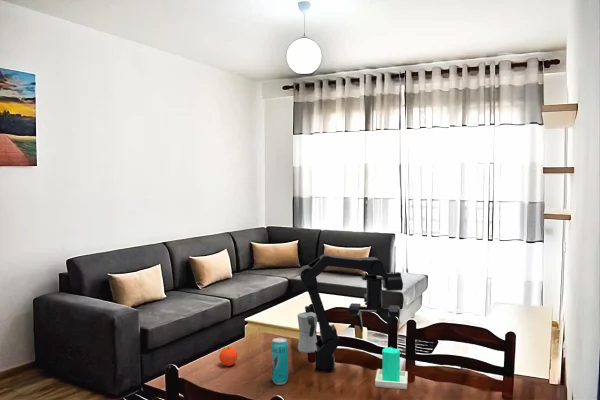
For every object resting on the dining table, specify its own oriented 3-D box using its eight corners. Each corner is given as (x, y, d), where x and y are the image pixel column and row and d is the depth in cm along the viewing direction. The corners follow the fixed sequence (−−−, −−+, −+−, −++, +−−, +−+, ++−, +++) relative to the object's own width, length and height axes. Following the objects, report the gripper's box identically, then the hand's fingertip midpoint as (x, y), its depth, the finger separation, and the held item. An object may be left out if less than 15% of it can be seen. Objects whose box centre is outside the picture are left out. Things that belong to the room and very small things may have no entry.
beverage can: (268, 381, 170) (268, 339, 170) (282, 377, 174) (281, 336, 173) (278, 387, 166) (277, 343, 165) (291, 382, 169) (291, 340, 169)
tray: (375, 386, 165) (375, 380, 165) (377, 374, 176) (377, 368, 176) (407, 389, 163) (407, 383, 163) (407, 376, 173) (407, 371, 173)
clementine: (213, 366, 184) (213, 348, 184) (223, 360, 191) (222, 342, 190) (231, 369, 181) (231, 350, 181) (241, 363, 188) (240, 345, 187)
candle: (396, 384, 165) (396, 350, 165) (379, 381, 168) (379, 347, 168) (402, 378, 170) (402, 344, 170) (386, 375, 174) (386, 342, 173)
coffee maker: (294, 345, 207) (293, 303, 207) (314, 343, 210) (313, 302, 209) (302, 357, 193) (302, 312, 192) (323, 355, 195) (323, 311, 194)
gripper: (400, 287, 188) (400, 327, 188) (352, 285, 192) (352, 324, 193) (399, 294, 177) (399, 336, 177) (348, 292, 181) (348, 333, 182)
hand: (374, 332), depth 183 cm, fingers open, 9 cm apart
